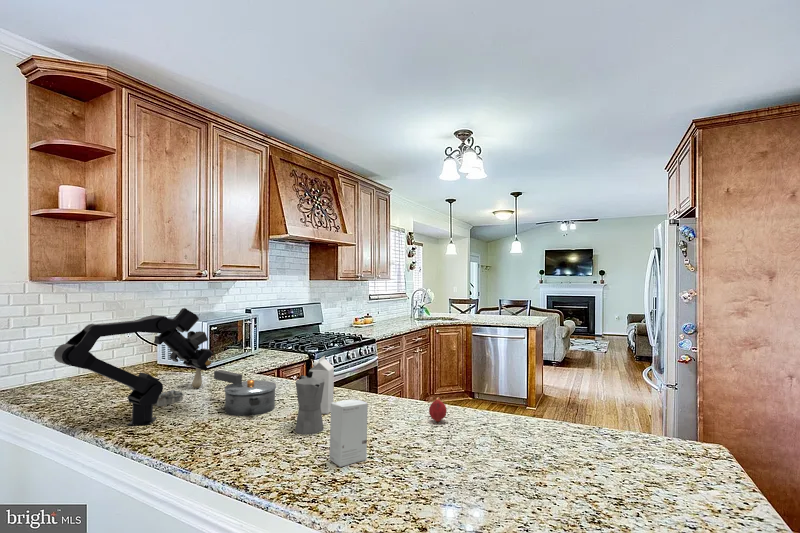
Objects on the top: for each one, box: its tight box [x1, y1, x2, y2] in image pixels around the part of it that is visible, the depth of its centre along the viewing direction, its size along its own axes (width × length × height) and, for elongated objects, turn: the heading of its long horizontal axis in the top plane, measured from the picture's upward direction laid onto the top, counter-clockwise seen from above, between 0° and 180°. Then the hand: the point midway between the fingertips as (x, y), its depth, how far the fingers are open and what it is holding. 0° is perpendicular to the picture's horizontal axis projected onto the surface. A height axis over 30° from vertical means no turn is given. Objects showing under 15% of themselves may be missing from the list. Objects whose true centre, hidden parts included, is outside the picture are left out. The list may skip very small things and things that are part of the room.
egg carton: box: [153, 389, 186, 407], centre depth 165 cm, size 11×8×4 cm
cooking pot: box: [224, 389, 276, 417], centre depth 157 cm, size 25×17×7 cm
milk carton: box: [308, 355, 335, 415], centre depth 155 cm, size 7×7×19 cm
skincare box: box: [329, 398, 369, 468], centre depth 113 cm, size 8×6×15 cm
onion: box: [428, 397, 447, 423], centre depth 144 cm, size 6×6×8 cm
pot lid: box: [213, 369, 277, 395], centre depth 161 cm, size 30×18×4 cm, turn 55°
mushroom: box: [185, 359, 212, 389], centre depth 186 cm, size 9×11×15 cm
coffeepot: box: [294, 370, 324, 435], centre depth 137 cm, size 15×9×18 cm, turn 33°
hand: (206, 369), depth 159 cm, fingers closed
